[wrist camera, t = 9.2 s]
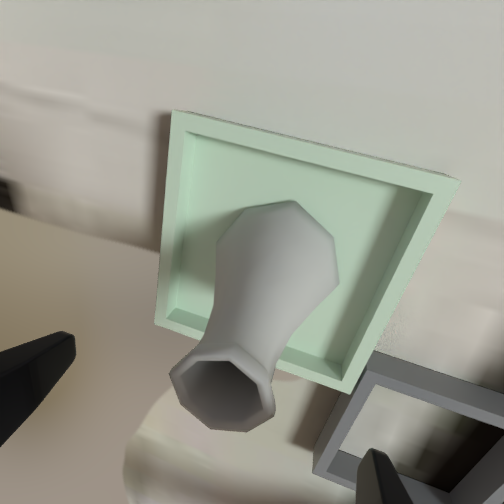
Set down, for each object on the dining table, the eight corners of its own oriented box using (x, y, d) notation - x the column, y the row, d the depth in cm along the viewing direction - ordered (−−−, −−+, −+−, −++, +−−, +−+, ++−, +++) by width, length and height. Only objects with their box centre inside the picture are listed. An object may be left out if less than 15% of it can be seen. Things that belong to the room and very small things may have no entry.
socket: (455, 503, 22) (465, 535, 21) (313, 447, 24) (312, 473, 22) (547, 408, 18) (571, 440, 16) (363, 347, 19) (366, 369, 17)
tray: (348, 371, 20) (350, 394, 18) (168, 308, 22) (154, 324, 20) (445, 174, 14) (461, 180, 13) (189, 111, 16) (171, 109, 14)
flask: (199, 234, 18) (71, 334, 9) (303, 176, 15) (262, 243, 7) (256, 325, 20) (194, 486, 11) (361, 288, 17) (391, 466, 8)
